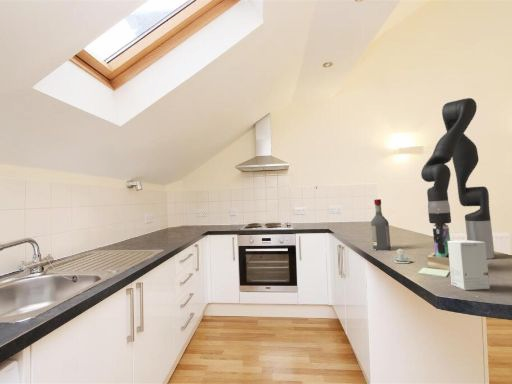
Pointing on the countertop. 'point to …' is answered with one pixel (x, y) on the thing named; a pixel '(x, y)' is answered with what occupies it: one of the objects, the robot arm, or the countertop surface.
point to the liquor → (380, 229)
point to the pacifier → (401, 257)
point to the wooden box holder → (438, 262)
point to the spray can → (445, 227)
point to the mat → (434, 272)
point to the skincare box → (468, 264)
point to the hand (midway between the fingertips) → (443, 252)
